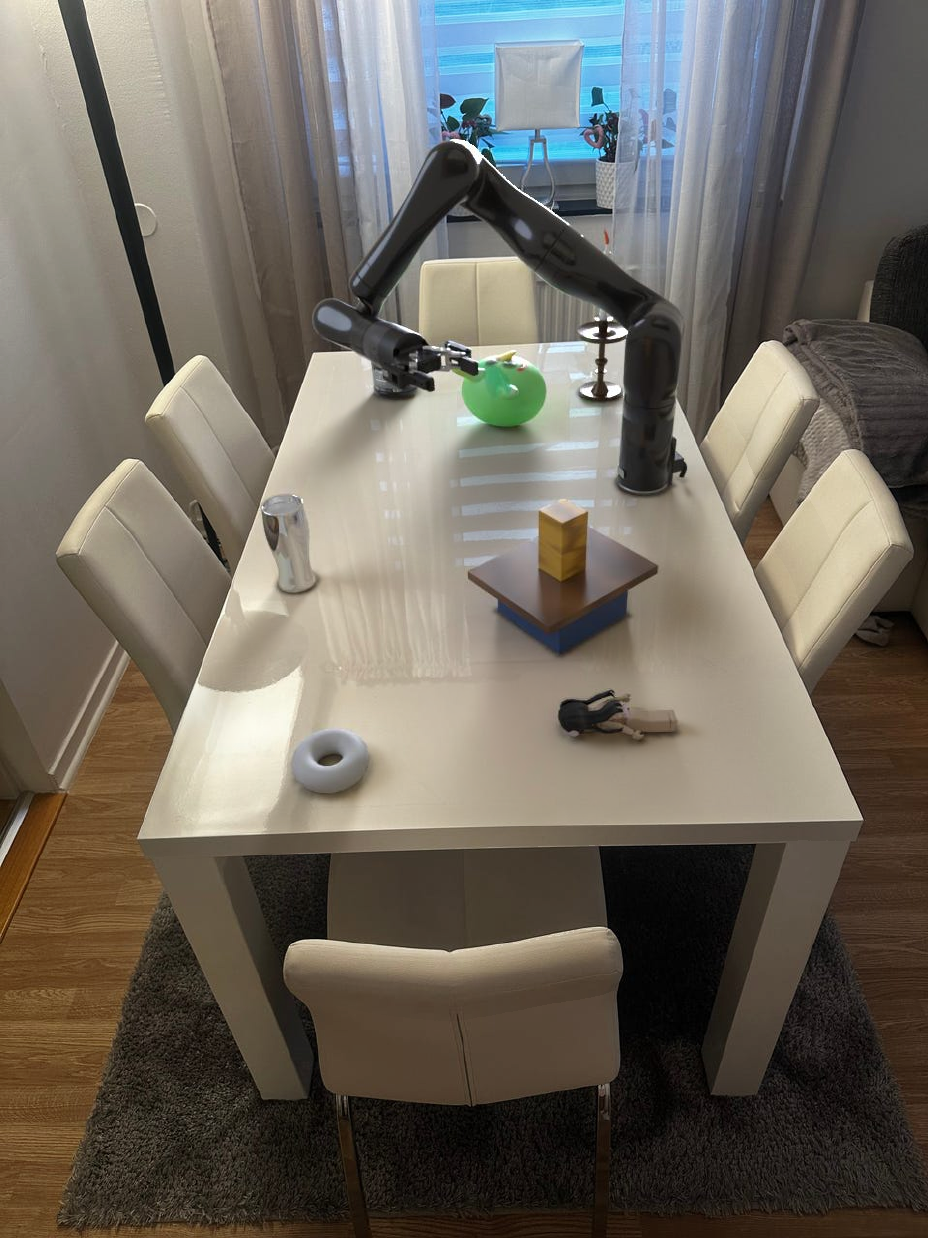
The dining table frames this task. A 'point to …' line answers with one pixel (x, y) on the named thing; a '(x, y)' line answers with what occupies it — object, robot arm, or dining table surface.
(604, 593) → the board
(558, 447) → the dining table surface
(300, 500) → the beer glass
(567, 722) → the toy figure
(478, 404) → the toy bird
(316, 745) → the donut
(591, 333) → the candlestick
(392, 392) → the supplement container
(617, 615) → the blue box
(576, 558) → the block
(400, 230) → the robot arm
